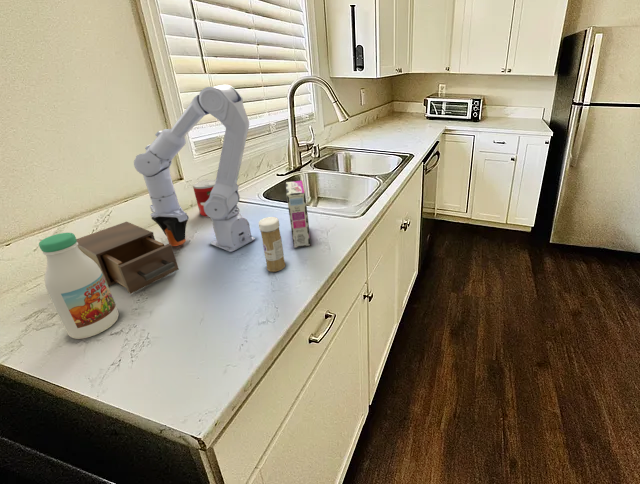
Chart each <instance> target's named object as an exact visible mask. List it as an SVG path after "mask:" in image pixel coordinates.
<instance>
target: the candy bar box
mask: <svg viewBox="0 0 640 484" xmlns="http://www.w3.org/2000/svg"><path fill="white" fill-rule="evenodd" d="M285 190H286V191H285V192H286V200H287V206H288V207H287V209H288V214H289V223H290V230H291V237H292V244H293V249H299V248H305V247H310V246H312V245H311V244H312V243H311V234H310V233H311V231H310V223H309V215H308V206H307V196H306V191H305V186H304V181H303V180H292V181H286V182H285Z"/></svg>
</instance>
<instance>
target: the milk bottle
mask: <svg viewBox="0 0 640 484" xmlns="http://www.w3.org/2000/svg"><path fill="white" fill-rule="evenodd" d="M76 239H77V237H76V234H74V233H72V232H62V233H61V232H60V233H56V234H53V235H50V236H47V237H45V238H43V239H42V240H40V241H39V243H38V247H39V249H40V251H41V252H42V255H44V256H45V257H46V270H45V273H44V285H45V289H46V291H47V294H48V296H49V298H50V301H51V303H52V305H53V307H54V309H55V312H56V313H57V315H58V317H59V319H60V322H61V324H62V325H63V327H64V329H65V331H66V333H67V335H68V336H69V337H70V338H72V339H75V340H81V339H87V338H91V337H94V336H96V335H99V334H101V333H102V332H104V331H106V330H108V329H109V328H110V327H112V326H114V325H115V323H116V322H117V321H118V319H119V315H120V312H119V310H118V306H117V304H116V302H115V299H114V297H113V295H112V292H111V289H110V288H109V287H110V286H108V285H107V283H106V280H105V278H104V276H103V274H102V271H101V269H100V268H99V266H98V265H97V264H96V263H95V262H94V261H93V260H92V259H91V258H89V257H88V256H86V255H85V254H84V253H83V252H82V251H81V250H80V249H79V248H78V246H77V245H78V242H77V240H76Z"/></svg>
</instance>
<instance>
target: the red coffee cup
mask: <svg viewBox="0 0 640 484" xmlns="http://www.w3.org/2000/svg"><path fill="white" fill-rule="evenodd" d="M215 182H216V179H212V178H211V179H202V180H198V181H196V182H194V183H193V184H192V188H193V192H194V196H195V200H196V205H197V207H198V211H199V212H198V213H199V214H200V215H201V216H202V217H204V218H205V217H206V218H210V217H209V216H207V215H206V213H205V211H204V206H203V205H201V204H200V203H205V202H206V201H207V200H208V199H209V197H210V193H211V191H212V189H213V187H214V185H215Z"/></svg>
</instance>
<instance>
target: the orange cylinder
mask: <svg viewBox="0 0 640 484" xmlns="http://www.w3.org/2000/svg"><path fill="white" fill-rule="evenodd" d="M165 232H166V235H165V236H166V239H167V241H168V244H170V245H172V247H178V246H180V245H181V246H182V245H183V244H184V243H186V241H187V240H186V238H185V239H184V240H182V241H179V242H177V241H176V240H175V238H174V236H173V234H172V232H171V231H170V229H169V228H168V227H167V228H166V229H165Z"/></svg>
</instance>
